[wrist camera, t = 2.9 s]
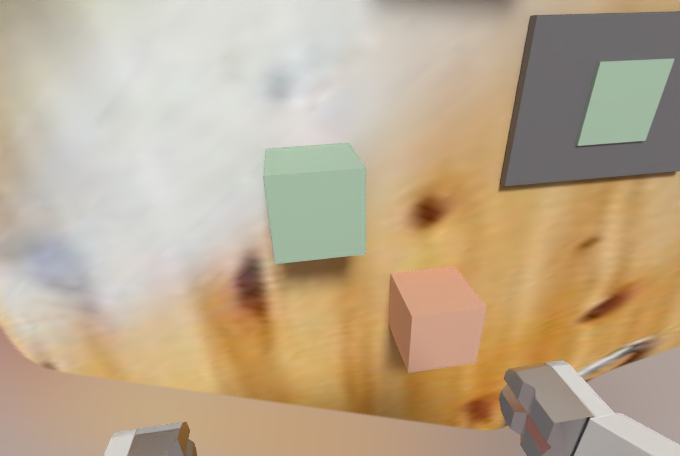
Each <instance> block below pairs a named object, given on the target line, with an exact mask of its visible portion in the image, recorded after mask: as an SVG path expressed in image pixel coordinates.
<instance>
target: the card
mask: <svg viewBox="0 0 680 456" xmlns="http://www.w3.org/2000/svg"><path fill="white" fill-rule="evenodd" d="M673 171H680V11H676V12H640V13H603V14H566V15H535V16H531V17H530V23H529V28H528V34H527V39H526V45H525V50H524V55H523V61H522V66H521V72H520V77H519V83H518V88H517V94H516V99H515V105H514V110H513V115H512V121H511V126H510V132H509V137H508V143H507V148H506V154H505V159H504V165H503V170H502V175H501V181H500V184H502V185H504V186H515V185H526V184H537V183H549V182H560V181H571V180H583V179H594V178H605V177H617V176H628V175H639V174H651V173H662V172H673Z"/></svg>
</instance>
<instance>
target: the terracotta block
mask: <svg viewBox="0 0 680 456" xmlns="http://www.w3.org/2000/svg"><path fill="white" fill-rule="evenodd" d="M486 309H487V307H486V306H485V304H484V303H483V302H482V300H481V299H480V298H479V297H478V295H477V294H476V293H475V292H474V290H473V289H472V288H471V286H470V285H469V284H468V283H467V281H466V280H465V279H464V278H463V276H462V275H461V274H460V272H459V271H458V270H457V269H456V267H455V266H449V267H441V268H432V269H423V270H415V271H406V272H398V273H391V278H390V303H389V327H390V329H391V332H392V334H393V337H394V339H395V342H396V344H397V347H398V349H399V352H400V354H401V357H402V359H403V362H404V365H405V367H406V370H407V372H408V373H412V372H419V371H425V370H432V369H439V368H445V367H452V366H458V365H465V364H471V363H476V360H477V355H478V350H479V345H480V340H481V335H482V330H483V324H484V319H485V314H486Z"/></svg>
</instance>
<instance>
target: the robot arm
mask: <svg viewBox="0 0 680 456" xmlns="http://www.w3.org/2000/svg"><path fill="white" fill-rule="evenodd" d="M504 380H505V381H506V383H507V385H506V386H505V387H504V388H503V389H502V390H501V393H500V398H499V401H500V407H501V411H502V414H503V416H504V419H505V420H506V422H507V424H508V425H509V427H510V428H511V429H512V430H514V431H515V432H517V433H518V434H520V435H521V442H520V445H521V447H522V448H523V450H524V451H525V453H526V455H527V456H680V444H678V443H676V442H674V441H672V440H670V439H668V438H666V437H665V436H662V435H661V434H659V433H657V432H655V431H653V430H652V429H650V428H648V427H646V426H644V425H642V424H640V423H639V422H637V421H635V420H633V419H631V418H629V417H627V416H626V415H624V414H621V413H614V412H613V411H612V410H611V409H610V408H609V407H608V406H607V405H606V403H605V402H604V401H603V400H602V399H601V398H600V397H599V396H598V395H597V394H596V393H595V392H594V391H593V389H592V388H591V387H590V386H589V385H588V384H587V383H586V382H585V381H584V380H583V379H582V378H581V376H580V375H579V374H578V373H577V372H576V371H575V370H574V369H573V368H572V367H571V366H570V365H569V364H568V363H567V362H565V361H563V360H560V361H554V362H548V363H539V364H533V365H527V366H522V367H516V368H511V369H508V370H507V371H506V373H505V376H504ZM189 433H190V429H189V427H188V425H187V422H181V423H174V424H166V425H160V426H152V427H145V428H137V429H130V430H124V431H118V432H116V433H115V434H114V435H113V437H112V438H111V439H110V441H109V443H108V445H107V448H106V450H105V453H104V455H103V456H197V453H196V447H195V444H194V442H192V441H190V440H189V439H188V437H189Z"/></svg>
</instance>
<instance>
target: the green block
mask: <svg viewBox="0 0 680 456" xmlns="http://www.w3.org/2000/svg"><path fill="white" fill-rule="evenodd" d="M263 178H264V186H265V193H266V200H267V208H268V215H269V223H270V230H271V238H272V245H273V253H274V260H275V264H281V263H290V262H300V261H309V260H318V259H327V258H336V257H346V256H355V255H364V254H366V167H365V166H364V164H363V163H362V161H361V160H360V158H359V157H358V156H357V154H356V153H355V151H354V150H353V148H352V147H351V145H350V144H349V143H339V144H325V145H311V146H297V147H283V148H269V149H266V152H265V163H264V173H263Z"/></svg>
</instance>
